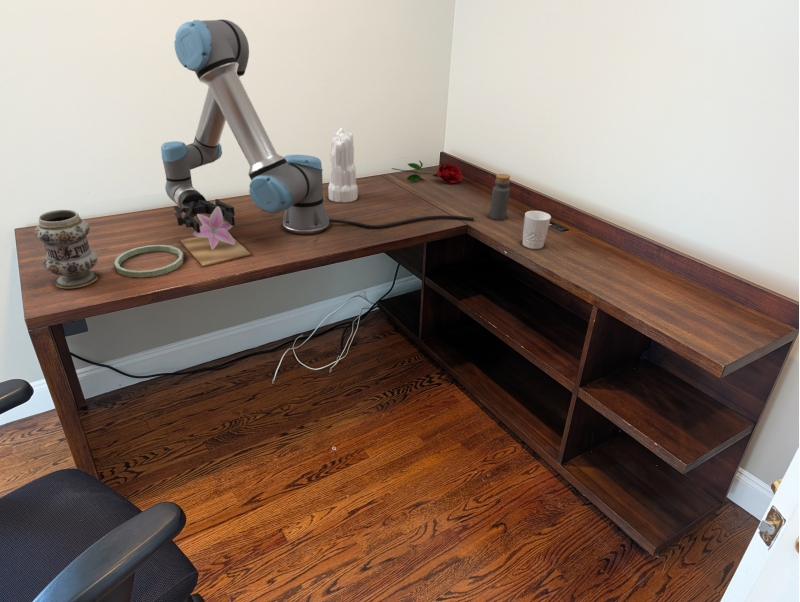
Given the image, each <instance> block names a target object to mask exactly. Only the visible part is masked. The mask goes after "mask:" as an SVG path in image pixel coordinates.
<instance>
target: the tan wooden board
mask: <svg viewBox="0 0 800 602" xmlns="http://www.w3.org/2000/svg"><path fill="white" fill-rule="evenodd" d="M232 238H233V240H234V242H235V244H234V245H232V244H229V243H226V242H223V241H220V240H219V241H218V243H217V245H216V247H215V248H214V249H213V250H212V249H211V246H210V243H209V238H205V237H197V236H194V237H188V238H184V239H180V243H181V244H182V245H183V246H184V247H185V248H186V249H187V250H188V251H189V253H190V254H191V255H192V256H193V258H195V259H196V260H197V262H198V263H199V264H200V265H201V266H202V267H207V266H211V265H217V264H221V263H225V262H230V261H232V260H233V261H234V260H237V259H241V258H245V257H250V256H251V255H252V254H251V252H250V251H249V250H247V248H245V246H243V245H242V244H241V243H240V242H239V241H237V239H235V238H234V237H233V236H232Z"/></svg>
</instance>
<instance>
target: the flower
mask: <svg viewBox="0 0 800 602" xmlns="http://www.w3.org/2000/svg"><path fill="white" fill-rule="evenodd" d="M418 161H419V163H420V164H418V163H414V162H411V163H407V165H408V166H409V167H410V168H412V169H414V170H415V171H413V170H405V169H398V168H394V167H393V168H391V170H395V171H402V172H406V173H407V172H408V173H413V174H411V175H408V176H407V177H406V179H407V180H408V181H409V182H412V183H416V182H418V181H419V179H420V180H423V178H422V177H421V175H420V174H422V175H431V177H435V178H439V179H441V180H442V181H444V182H446V183H447V184H449V185H453V183H454V184H457V183H459V182H460V181H462V180H463V177H462V176H463V175H462V170H461V168H460V167H459V166H457V165H455V164H452V163H449V162H448V163H445V164H444V163H443V164H441V165H439V167H438V168H437V170H436V173H433V172H432V173H431V172H419V171H417V170H422V168H423V167H424V163H423V162H422V161H421V160H418Z"/></svg>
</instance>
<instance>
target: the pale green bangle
mask: <svg viewBox="0 0 800 602" xmlns="http://www.w3.org/2000/svg"><path fill="white" fill-rule="evenodd" d="M148 252H166V253H167V252H168V253H172V254H175V255H177V256H178V258H177V259H176V260H175V261H174V262H172V263H170V264H168V265H165V266H162V267H158V268H153V269H150V270H149V269H145V270H134V269H127V268H124V267H122V266H121V264H122V263H123V262H124V261H126V260H127V259H128V258H131V257H133V256H136V255H140V254H145V253H148ZM184 260H185V256H184V252H183V251H182V249H180V248H179V247H176V246H174V245H168V244H167V245H166V244H151V245H143V246H139V247H134V248H132V249H130V250H129V249H128V250H127V251H124V252H122V253H121V254H119V255H118V256H117V257H115V260H114V262H113V264H114V269H115V270H116V272H117V273H118V274H120V275H122V276H125V277H129V278H136V279H137V278H138V279H139V278H153V277H156V276H161V275H165V274H168V273H170V272H173V271H175V270H177V269H178V268H179V267H181V266H182V265H183V263H184Z"/></svg>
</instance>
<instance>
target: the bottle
mask: <svg viewBox="0 0 800 602" xmlns="http://www.w3.org/2000/svg"><path fill="white" fill-rule="evenodd" d="M495 178H496V179H495V180H494V184H495V185H494V186H493V187H492V193H491V201H490V209H489V218H490V219H492V220H496V221H503V220H506V218H507V213H508V206H509V198H510V192H511V188H510V187H509V186H510V184H511V181H510V178H511V176H510V175H509V174H505V173H498V174H496V175H495Z"/></svg>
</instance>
